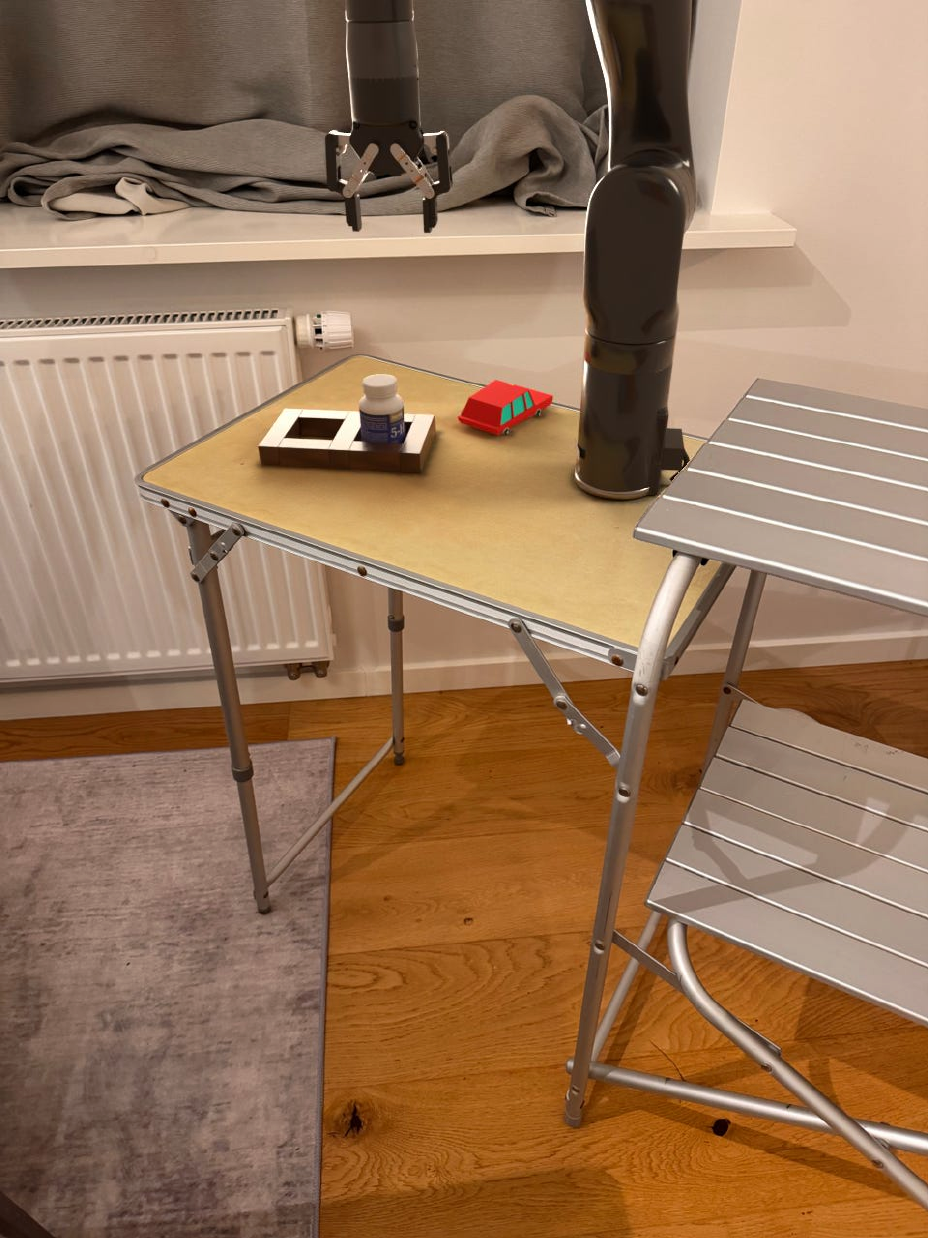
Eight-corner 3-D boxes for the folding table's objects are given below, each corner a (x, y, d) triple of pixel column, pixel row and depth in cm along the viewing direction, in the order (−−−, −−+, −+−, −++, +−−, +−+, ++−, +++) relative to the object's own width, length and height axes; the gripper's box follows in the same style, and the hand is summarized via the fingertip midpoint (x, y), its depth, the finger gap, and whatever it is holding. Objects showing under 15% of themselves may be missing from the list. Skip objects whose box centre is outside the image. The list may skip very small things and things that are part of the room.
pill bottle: (400, 461, 107) (395, 390, 102) (357, 458, 108) (350, 387, 102) (411, 442, 111) (407, 372, 106) (370, 439, 112) (364, 370, 107)
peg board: (435, 433, 113) (434, 414, 112) (420, 473, 104) (419, 453, 103) (287, 426, 115) (284, 408, 114) (261, 465, 107) (257, 445, 105)
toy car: (554, 408, 119) (555, 378, 116) (498, 440, 111) (498, 409, 109) (514, 396, 122) (514, 367, 120) (457, 426, 115) (456, 396, 112)
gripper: (309, 75, 95) (326, 238, 104) (443, 74, 93) (448, 240, 103) (327, 67, 101) (341, 222, 110) (453, 66, 99) (456, 224, 109)
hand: (392, 230), depth 106 cm, fingers open, 8 cm apart
